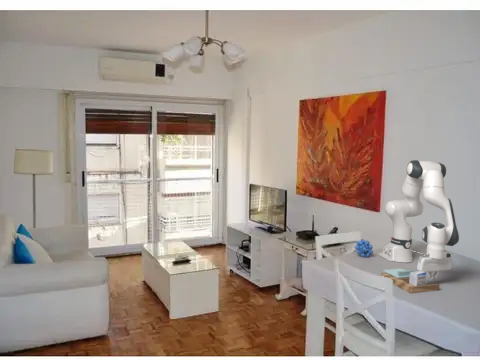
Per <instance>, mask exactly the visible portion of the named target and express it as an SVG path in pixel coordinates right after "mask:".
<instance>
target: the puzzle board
mask: <svg viewBox="0 0 480 360" xmlns="http://www.w3.org/2000/svg"><path fill="white" fill-rule="evenodd" d="M380 274H381V275H380V277H381V276H384V277H388V278H391V279H392V280H393V284H394V285H393V284H392V285H393V286H395V287H398V288H399V289H401V290H403V291H406V292H408V293H410V294H418V293H425V292H427V293H428V292H434V291H436V292H437V291H440V284H439V283H431V284H425V285H421V286H414V285H412V284H410V283H409V280H410V277H407V278H396V277H394V276H392V275H390V274H388V273H386V272H381V273H380Z"/></svg>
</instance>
